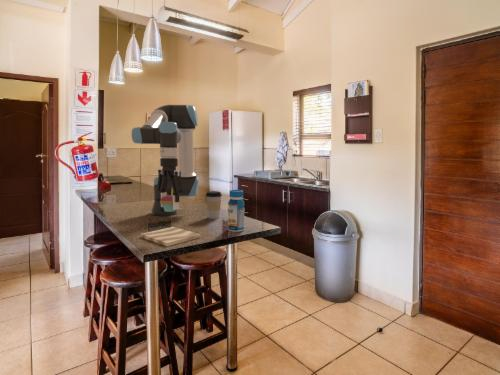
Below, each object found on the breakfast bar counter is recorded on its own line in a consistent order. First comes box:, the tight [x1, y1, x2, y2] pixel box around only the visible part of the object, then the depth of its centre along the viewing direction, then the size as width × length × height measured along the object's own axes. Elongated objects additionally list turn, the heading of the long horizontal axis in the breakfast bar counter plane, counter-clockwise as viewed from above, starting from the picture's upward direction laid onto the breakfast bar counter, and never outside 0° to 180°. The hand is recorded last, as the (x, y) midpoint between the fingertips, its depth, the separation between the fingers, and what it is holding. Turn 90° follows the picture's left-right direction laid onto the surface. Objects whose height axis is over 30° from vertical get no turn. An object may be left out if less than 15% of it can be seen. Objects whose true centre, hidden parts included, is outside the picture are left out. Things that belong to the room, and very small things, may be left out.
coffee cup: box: [205, 190, 223, 220], centre depth 188 cm, size 9×9×15 cm
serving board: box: [140, 226, 201, 247], centre depth 148 cm, size 20×18×2 cm
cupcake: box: [160, 189, 175, 212], centre depth 146 cm, size 9×8×12 cm
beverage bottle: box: [227, 189, 246, 233], centre depth 161 cm, size 8×8×20 cm
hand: (169, 207), depth 146 cm, fingers closed on cupcake, 8 cm apart
